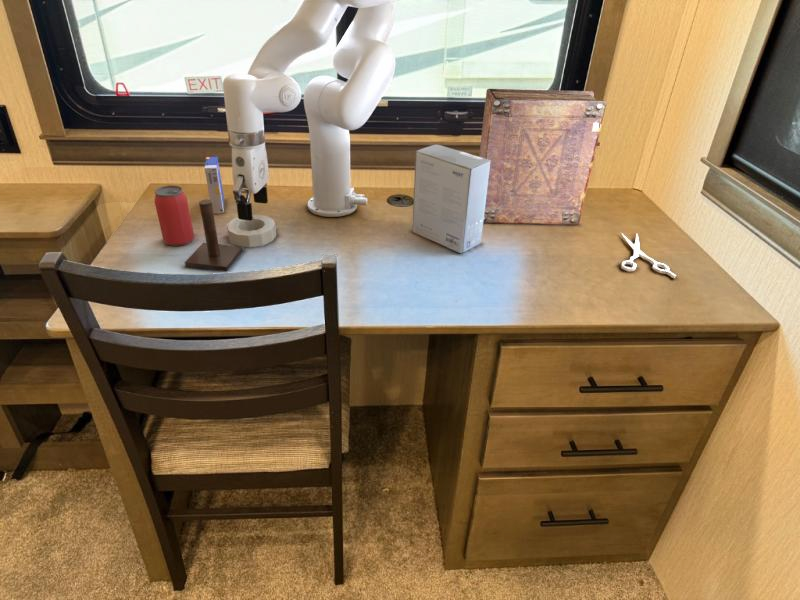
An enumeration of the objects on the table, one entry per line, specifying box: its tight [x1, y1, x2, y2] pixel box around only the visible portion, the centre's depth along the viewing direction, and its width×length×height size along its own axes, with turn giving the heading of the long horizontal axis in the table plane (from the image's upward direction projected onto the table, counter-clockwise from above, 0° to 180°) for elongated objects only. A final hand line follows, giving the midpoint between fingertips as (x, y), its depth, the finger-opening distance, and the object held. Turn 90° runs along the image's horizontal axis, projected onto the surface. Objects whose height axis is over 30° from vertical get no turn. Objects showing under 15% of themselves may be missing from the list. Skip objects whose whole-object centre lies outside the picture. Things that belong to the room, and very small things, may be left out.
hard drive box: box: [411, 143, 491, 254], centre depth 125 cm, size 16×8×20 cm, turn 47°
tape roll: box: [226, 214, 277, 248], centre depth 127 cm, size 10×10×3 cm
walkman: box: [204, 156, 225, 214], centre depth 137 cm, size 8×3×12 cm, turn 13°
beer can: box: [154, 185, 195, 247], centre depth 122 cm, size 7×7×12 cm
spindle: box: [184, 199, 244, 272], centre depth 115 cm, size 9×9×13 cm
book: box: [478, 88, 607, 226], centre depth 133 cm, size 25×9×30 cm, turn 91°
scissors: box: [620, 232, 677, 279], centre depth 127 cm, size 11×1×20 cm
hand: (253, 210), depth 128 cm, fingers open, 9 cm apart
